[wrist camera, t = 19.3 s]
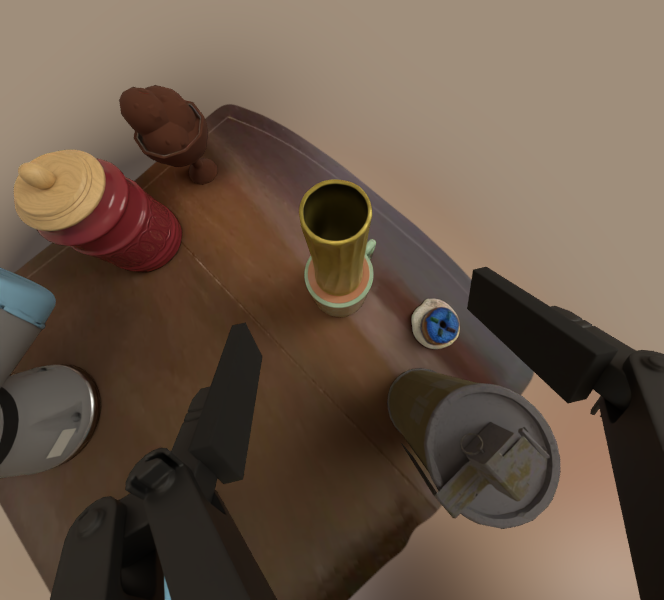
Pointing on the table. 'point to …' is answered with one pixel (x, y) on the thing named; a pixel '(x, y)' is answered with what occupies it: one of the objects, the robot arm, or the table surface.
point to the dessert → (435, 324)
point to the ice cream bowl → (169, 129)
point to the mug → (345, 303)
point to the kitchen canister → (95, 211)
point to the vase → (336, 233)
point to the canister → (477, 446)
